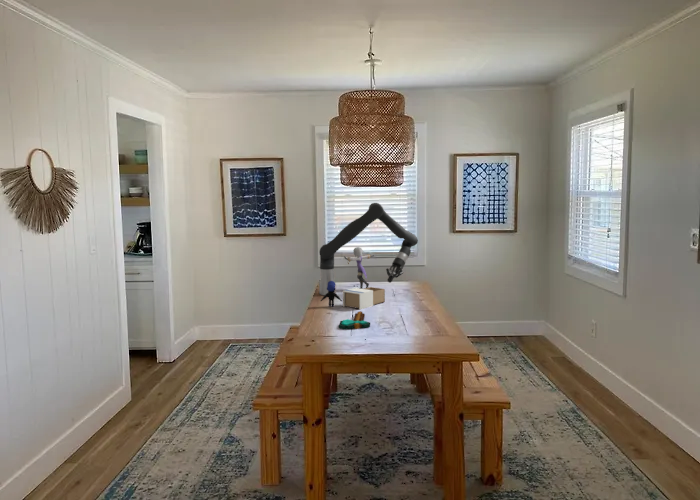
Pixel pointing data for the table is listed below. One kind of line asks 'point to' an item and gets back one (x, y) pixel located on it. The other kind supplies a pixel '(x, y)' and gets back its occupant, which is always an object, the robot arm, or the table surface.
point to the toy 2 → (355, 322)
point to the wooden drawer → (353, 299)
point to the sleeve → (361, 297)
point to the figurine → (361, 270)
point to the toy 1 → (331, 293)
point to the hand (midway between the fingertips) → (389, 281)
